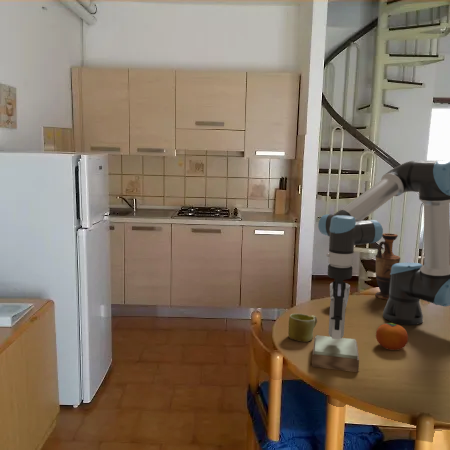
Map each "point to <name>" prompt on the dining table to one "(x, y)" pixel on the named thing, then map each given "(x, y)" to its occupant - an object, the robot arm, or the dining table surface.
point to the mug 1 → (301, 327)
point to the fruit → (392, 336)
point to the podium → (335, 353)
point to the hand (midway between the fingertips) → (336, 335)
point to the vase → (385, 265)
